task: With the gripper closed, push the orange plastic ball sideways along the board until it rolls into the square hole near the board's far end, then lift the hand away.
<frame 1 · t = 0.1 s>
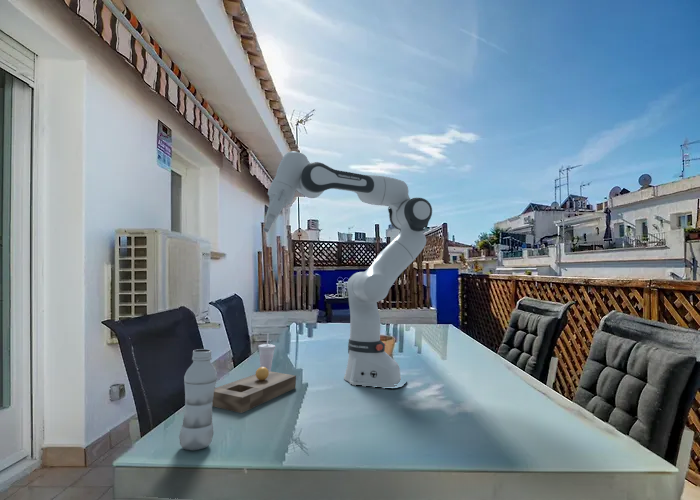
hand: (266, 230, 130), 52 cm above the table, tool tilted 20°, fingers open, 8 cm apart
smoothie: (265, 372, 142), on the table
brown wooden holder: (255, 395, 113), on the table
ball: (262, 373, 116), point 6 cm above the table, touching brown wooden holder
plastic bottle: (195, 448, 79), on the table
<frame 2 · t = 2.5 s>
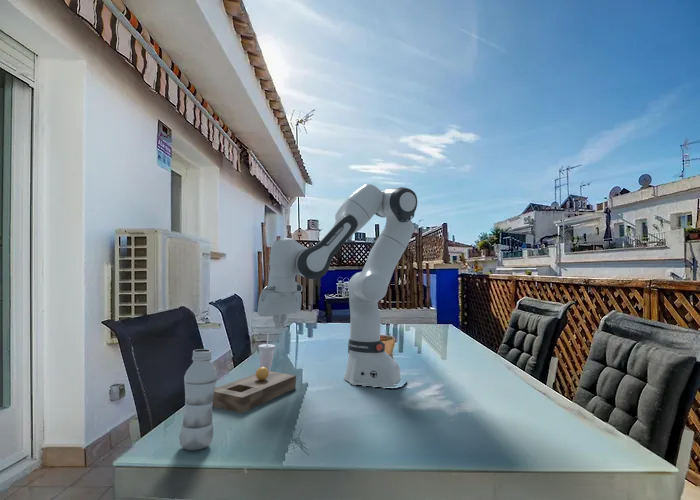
hand: (279, 328, 125), 19 cm above the table, tool pointing down, fingers closed
nothing on the table moved.
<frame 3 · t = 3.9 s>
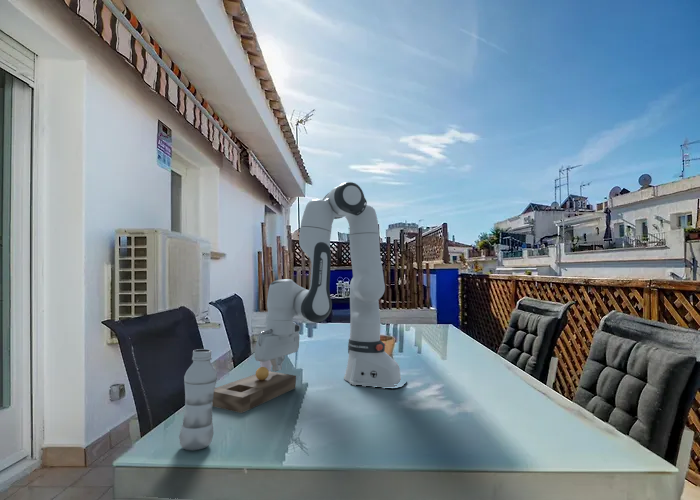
hand: (276, 370, 124), 5 cm above the table, tool pointing down, fingers closed
nothing on the table moved.
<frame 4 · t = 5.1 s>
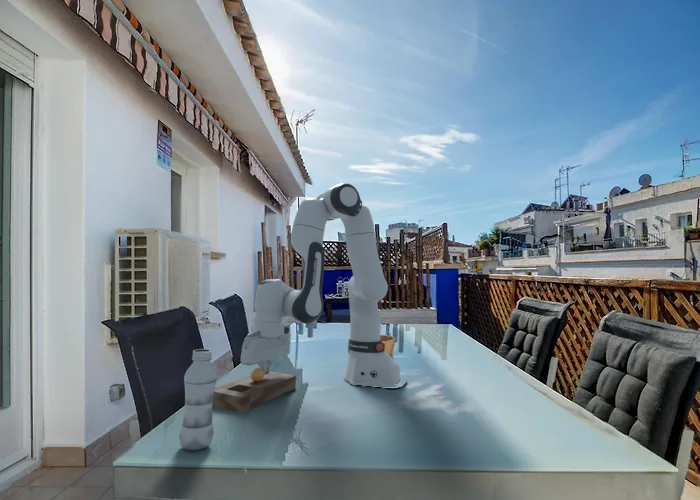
hand: (264, 374, 118), 5 cm above the table, tool pointing down, fingers closed
ball: (257, 375, 114), point 6 cm above the table, tilted 64°, touching brown wooden holder
everything else where it was.
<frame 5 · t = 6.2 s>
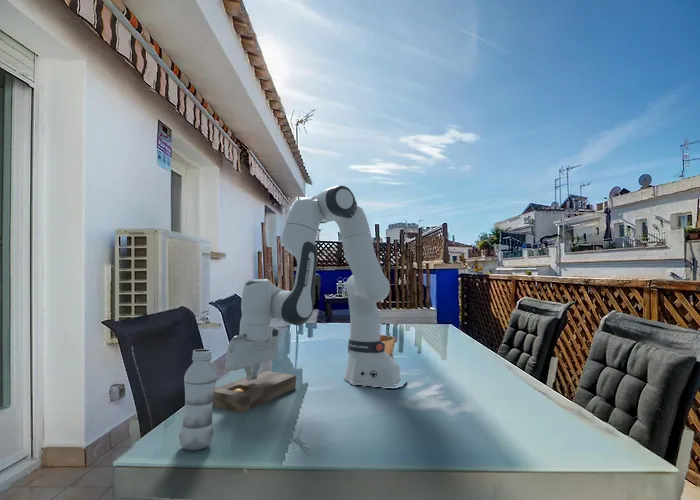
hand: (251, 379, 112), 5 cm above the table, tool pointing down, fingers closed
ball: (237, 396, 106), point 2 cm above the table, tilted 36°
everything else where it was.
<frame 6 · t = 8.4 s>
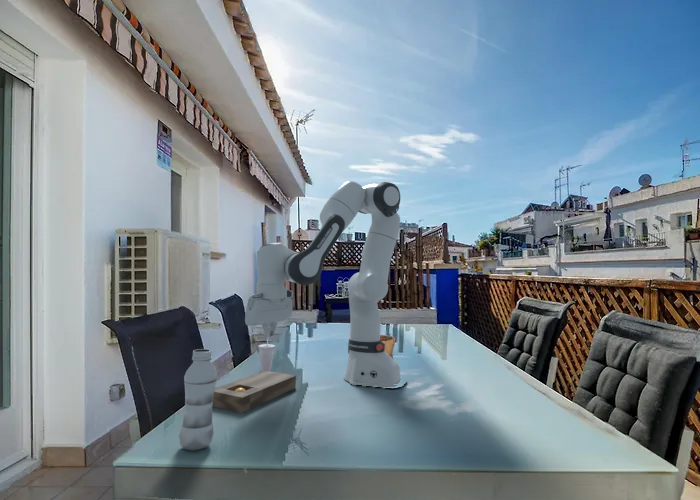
hand: (269, 336, 119), 17 cm above the table, tool pointing down, fingers closed
ball: (239, 395, 107), point 2 cm above the table, tilted 11°
everything else where it was.
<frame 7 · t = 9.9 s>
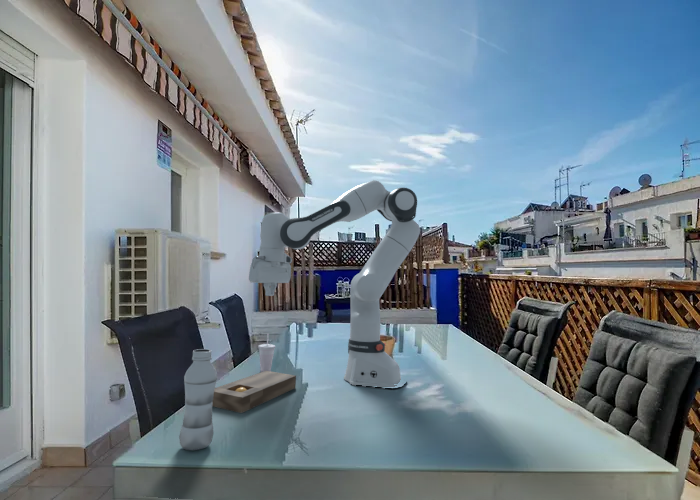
hand: (269, 295, 134), 29 cm above the table, tool pointing down, fingers closed
ball: (241, 394, 108), point 2 cm above the table
everything else where it was.
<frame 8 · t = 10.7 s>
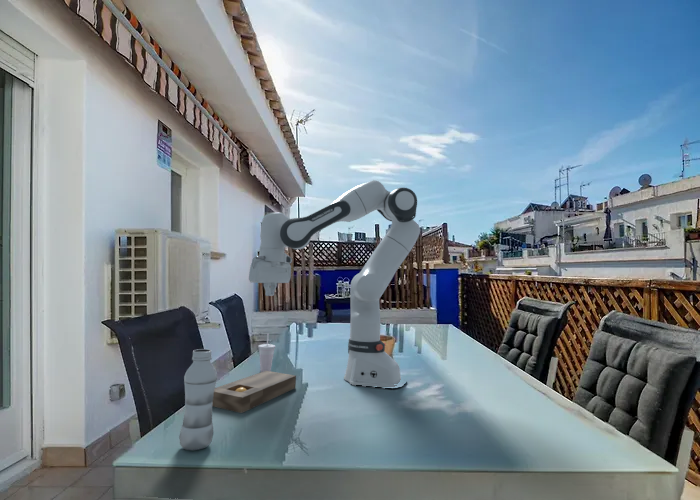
hand: (269, 295, 134), 29 cm above the table, tool pointing down, fingers closed
nothing on the table moved.
at the end: ball 0.7 cm from the target spot on the brown wooden holder, point 2.0 cm above the brown wooden holder's base; ball touching table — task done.
